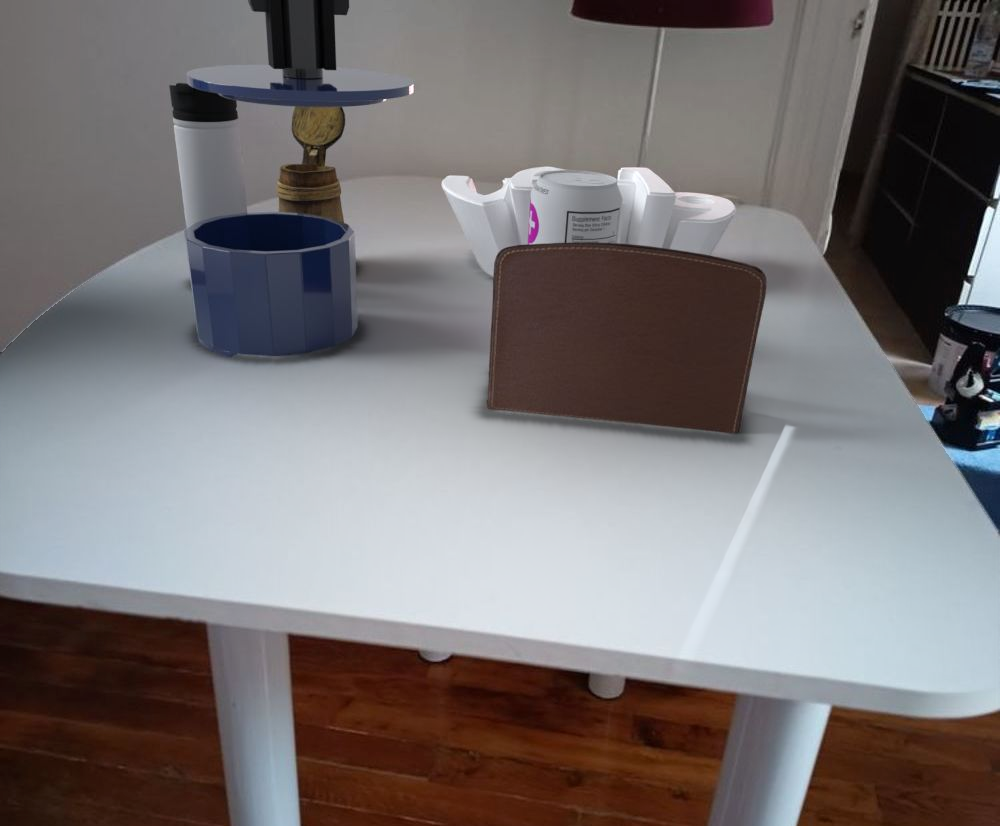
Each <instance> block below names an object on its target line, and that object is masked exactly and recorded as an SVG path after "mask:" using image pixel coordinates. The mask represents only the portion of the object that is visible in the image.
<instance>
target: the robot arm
mask: <svg viewBox="0 0 1000 826" xmlns="http://www.w3.org/2000/svg"><path fill="white" fill-rule="evenodd" d="M247 2H248V6H249V7H250V10H251V11H252V12H255V13H264V16H265V29H266V44H267V59H268V64H269V65H270V66H271V67H272V68H273V69H285V60H284V43H283V27H282V10H281V0H247ZM349 10H350V0H320V12H321V37H322V61H323V69H325V70H336V67H337V51H336V50H337V49H336V46H337V45H336V20H335V19H336V18H335V16H347V15H348V12H349Z"/></svg>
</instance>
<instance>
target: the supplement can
mask: <svg viewBox="0 0 1000 826" xmlns="http://www.w3.org/2000/svg"><path fill="white" fill-rule="evenodd" d="M617 179H618V178H616V177H614V176H612V175H610V174H606V173H601V172H595V171H587V170H575V169H564V170H557V171H548V172H543V173H541V174H540V175H539V179H538V180H537V182H536V184H535V186H534V187H533V189H532V191H531V195H530V212H529V229H528V244H548V243H586V242H591V243H618V237H619V228H620V218H621V209H622V200H623V199H622V196H621V193H620V191H619V188H618V185H617Z"/></svg>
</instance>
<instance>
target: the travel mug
mask: <svg viewBox="0 0 1000 826" xmlns="http://www.w3.org/2000/svg"><path fill="white" fill-rule="evenodd" d="M168 87H169V88H168V89H169V94H170V95H169V96H170V101H171V102H170V104H171V107H172V111H171V112H172V123H173V124H174V125H173V132H174V139H175V148H176V156H177V164H178V171H179V172H178V173H179V178H180V189H181V194H182V195H181V196H182V202H183V203H182V204H183V211H184V220H185V227H186V228H185V229H188V228H189V227H190V226H192V225H193V224H194V223H196V222H200V221H203V220H207V219H210V218H214V217H218V216H225V215H233V214H240V213H248V205H247V194H246V183H245V173H244V161H243V151H242V141H241V129H240V125H239V123H240V118H239V114H238V110H237V108H238V103H237V100H232V99H228V98H225V97H222V96H220V95H219V94H217V93H212V92H207V91H203V90H199V89H196V88H193V87H191V86H189V85H188V84H187V82H176V83H175V85H173V84H169V86H168Z"/></svg>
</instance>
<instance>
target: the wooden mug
mask: <svg viewBox="0 0 1000 826" xmlns="http://www.w3.org/2000/svg"><path fill="white" fill-rule="evenodd" d="M345 126H346V113H345V110H344V107H295V106H294V109H293V112H292V117H291V133H292V137H293V138H294V139H295V141H296V142H297V143H298V144H299V145H300V146H301V147H302V149H303V151H302V152H303V153H302V162H301V163H287V164H283V165H281V166H280V167H279V178H278V179H277V181H276V183H277V184H276V194H275V195H277V197H278V212H286V213H304V214H311V215H317V216H323V217H329V218H332V219H335V220H338V221H340V222H343V223H345V219H344V213H343V207H342V199H341V195H342V188H341V183H340V179H339V178H338V175H337V169H336V167H335V166H328V165H326V157H327V150H329V148H331V147H332V146H334V145H335V144H336V143H337V142H338V141H339V140H340V139H342V136H343V134H344V130H345Z"/></svg>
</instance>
